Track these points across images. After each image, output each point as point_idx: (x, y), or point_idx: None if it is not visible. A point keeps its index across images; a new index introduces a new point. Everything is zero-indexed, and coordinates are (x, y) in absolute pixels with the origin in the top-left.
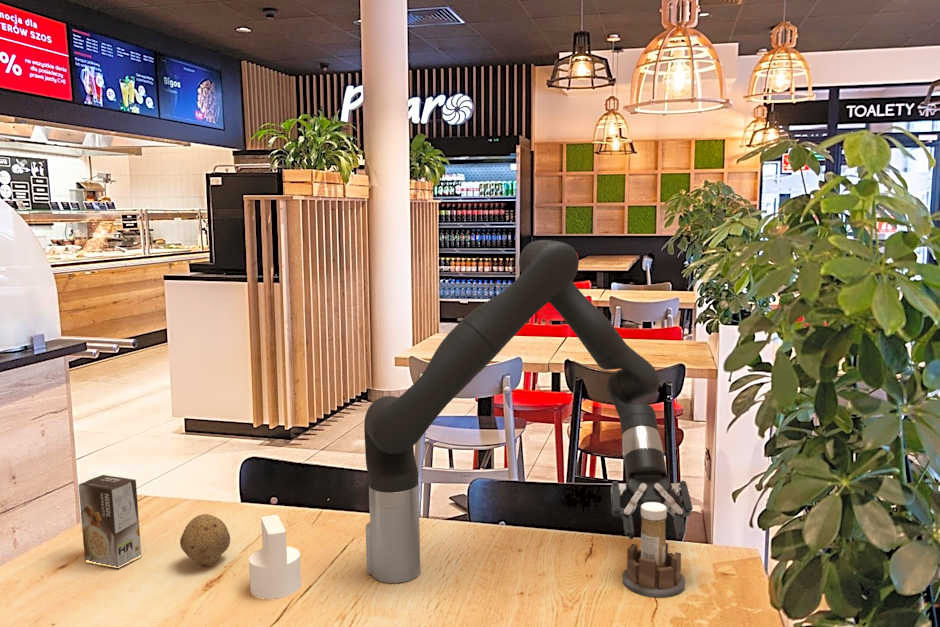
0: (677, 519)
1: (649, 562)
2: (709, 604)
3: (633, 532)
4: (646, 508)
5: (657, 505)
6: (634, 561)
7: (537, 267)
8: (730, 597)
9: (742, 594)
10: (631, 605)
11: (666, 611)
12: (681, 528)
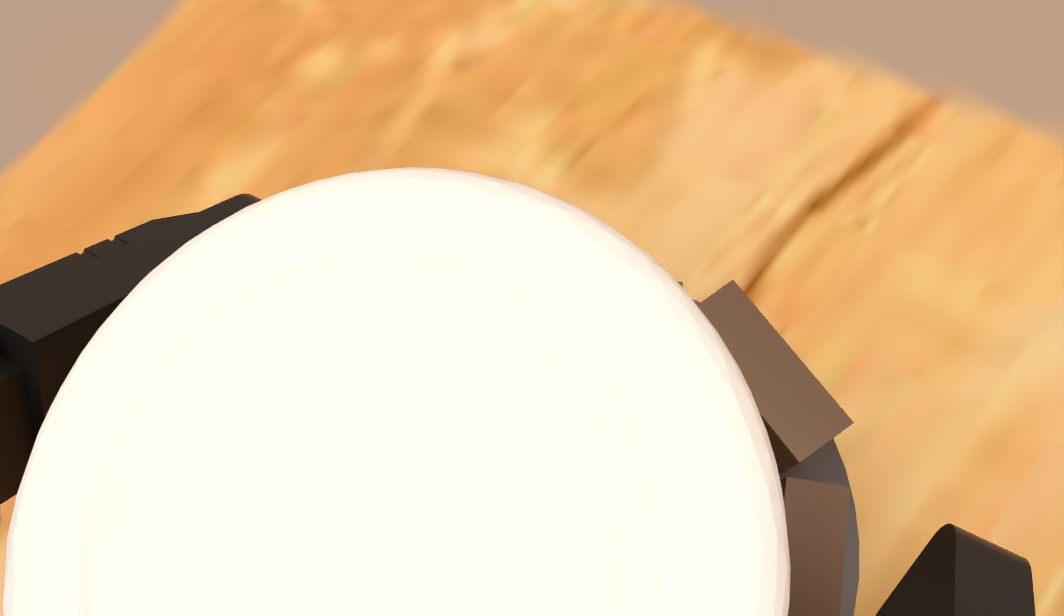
0: (100, 291)
1: (770, 328)
2: (454, 109)
3: (972, 541)
4: (722, 464)
5: (225, 516)
6: (792, 583)
7: None
8: (274, 128)
9: (184, 130)
10: (973, 308)
11: (776, 141)
12: (196, 218)
